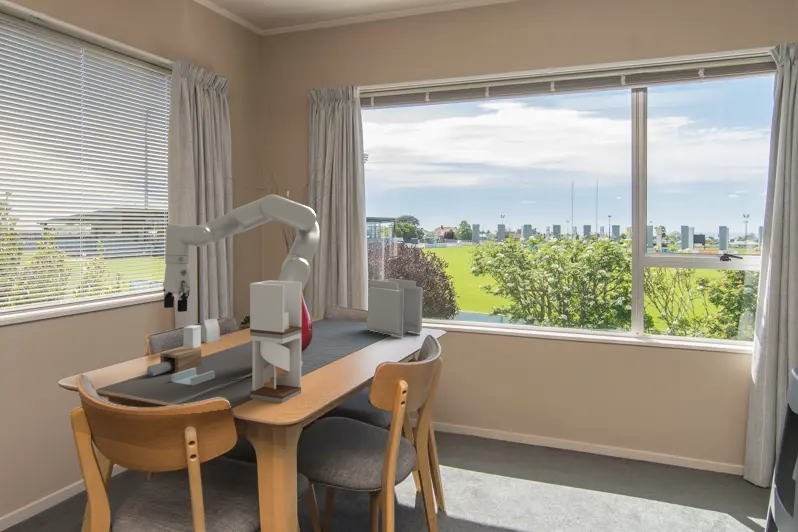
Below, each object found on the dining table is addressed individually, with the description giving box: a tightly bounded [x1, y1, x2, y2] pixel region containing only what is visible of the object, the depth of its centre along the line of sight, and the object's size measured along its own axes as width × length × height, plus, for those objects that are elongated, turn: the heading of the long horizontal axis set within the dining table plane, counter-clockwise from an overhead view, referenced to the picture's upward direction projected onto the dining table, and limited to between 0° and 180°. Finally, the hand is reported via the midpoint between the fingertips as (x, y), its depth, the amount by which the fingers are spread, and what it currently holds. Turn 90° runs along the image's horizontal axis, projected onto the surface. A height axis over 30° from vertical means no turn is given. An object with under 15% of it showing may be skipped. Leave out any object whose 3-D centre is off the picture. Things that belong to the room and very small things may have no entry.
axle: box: [146, 359, 175, 377], centre depth 192 cm, size 17×4×4 cm, turn 157°
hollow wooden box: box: [159, 346, 202, 374], centre depth 196 cm, size 8×11×8 cm
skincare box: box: [182, 324, 202, 350], centre depth 219 cm, size 6×4×12 cm
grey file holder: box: [366, 277, 424, 337], centre depth 274 cm, size 17×27×26 cm, turn 44°
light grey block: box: [201, 318, 221, 344], centre depth 247 cm, size 4×7×10 cm, turn 146°
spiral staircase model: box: [249, 280, 303, 404], centre depth 170 cm, size 11×11×35 cm
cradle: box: [170, 367, 216, 386], centre depth 181 cm, size 9×10×4 cm
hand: (175, 309), depth 191 cm, fingers open, 9 cm apart
